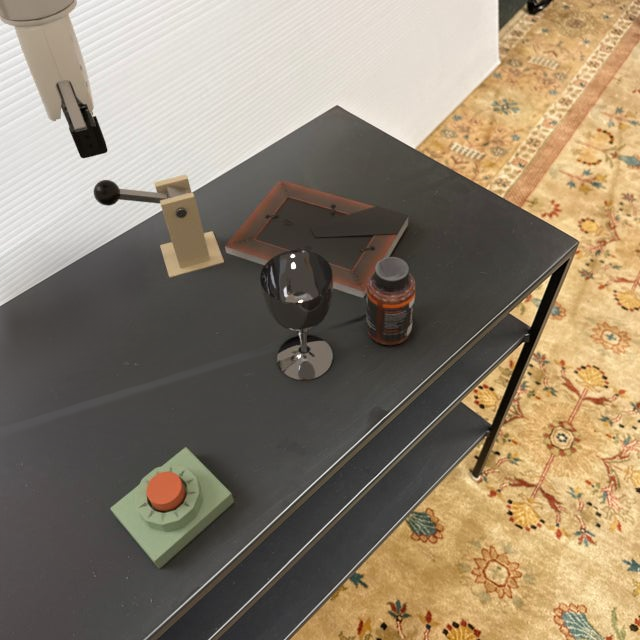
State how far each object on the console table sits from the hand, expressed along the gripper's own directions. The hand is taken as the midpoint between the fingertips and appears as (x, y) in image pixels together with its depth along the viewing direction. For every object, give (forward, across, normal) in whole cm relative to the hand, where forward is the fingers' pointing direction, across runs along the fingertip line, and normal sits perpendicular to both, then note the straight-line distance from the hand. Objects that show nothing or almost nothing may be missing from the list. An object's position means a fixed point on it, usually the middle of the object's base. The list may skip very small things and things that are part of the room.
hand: (93, 151), depth 77 cm
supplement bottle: (+21, +23, +29) cm, 42 cm away
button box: (+21, +37, -2) cm, 43 cm away
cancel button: (+17, +37, -2) cm, 41 cm away
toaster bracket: (+21, 0, +8) cm, 22 cm away
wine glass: (+21, +23, +17) cm, 36 cm away
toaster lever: (+9, 0, +3) cm, 10 cm away
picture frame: (+21, +4, +26) cm, 34 cm away
